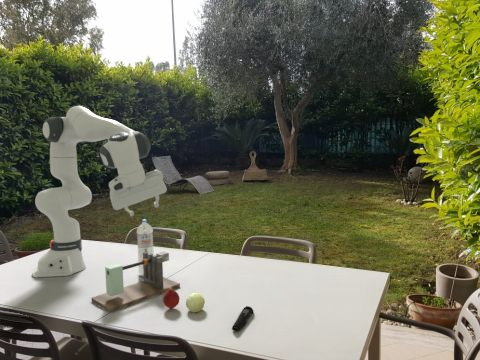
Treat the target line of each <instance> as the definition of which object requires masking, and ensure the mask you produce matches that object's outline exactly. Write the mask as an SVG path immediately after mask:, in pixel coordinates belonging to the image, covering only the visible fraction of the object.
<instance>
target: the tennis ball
mask: <svg viewBox="0 0 480 360" xmlns="http://www.w3.org/2000/svg"><path fill="white" fill-rule="evenodd" d="M185 305H186V308H187V310H188V311H190V312H191V313H194V312H197V313H199V312H200V311H201V310H202V311H203V308H204V306H205V298H204V297H203V296H202V295H201V294H200V293H198V292H193V293H191V294H189V295H188V296H187V298H186V300H185Z"/></svg>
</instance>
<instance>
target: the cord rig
mask: <svg viewBox="0 0 480 360" xmlns="http://www.w3.org/2000/svg"><path fill="white" fill-rule="evenodd" d="M169 255H170V253H169V251H162V252H157V253H155V254H154V255H153V254H151V253H150V254H148V252H144V253H143V260H142V261H141V262H138V261H137V262H136V263H132V264H127V265H124V266H123V271H124V270H129V269H131V268H134V267H139V265H142V264H143V271H144V277H143V280H142V281H139V282H136V283H133V284H129V285H126V286H124V292H123V293H120V294H117V295H114V296H110V295H108V294H107V292H105V293H102V294H98V295H96V296H93V297H91V299H90V300H91V303H93V304H95V305H96V306H98V307H100V308H102V309H103V310H105V311H107V312H108V313H110V314H111V313H114V312H116V311H119V310H122V309H124V308H128V307H129V306H133V305H136V304H137V303H138V304H139V303H140V302H143V301H146V300H148V299H151V298H152V299H153V298H155V297H157V296H160V295H162V294H163V295H164V294H165V293H166V292H167V291H168V290H169V288H170V287H171V288H172V289H173V290H176V289H180V287H181V283H179V282H176V281H175V280H171V279H169V278H166V277H164V272H163V271H164V267H163V263H165V262H168V261H170V256H169ZM108 273H109V271H108Z"/></svg>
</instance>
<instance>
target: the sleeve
mask: <svg viewBox="0 0 480 360" xmlns="http://www.w3.org/2000/svg"><path fill="white" fill-rule="evenodd" d="M123 267H124V266H123V265H122V264H119V263H115V264H110V265H107V266H105V267H104V268H105V285H106V286H105V288H106V293H107V294H108V295H110V296H114V295H117V294H120V293H123V292H124V287H125V286H124V270H123ZM108 271H109V273H108Z"/></svg>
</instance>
